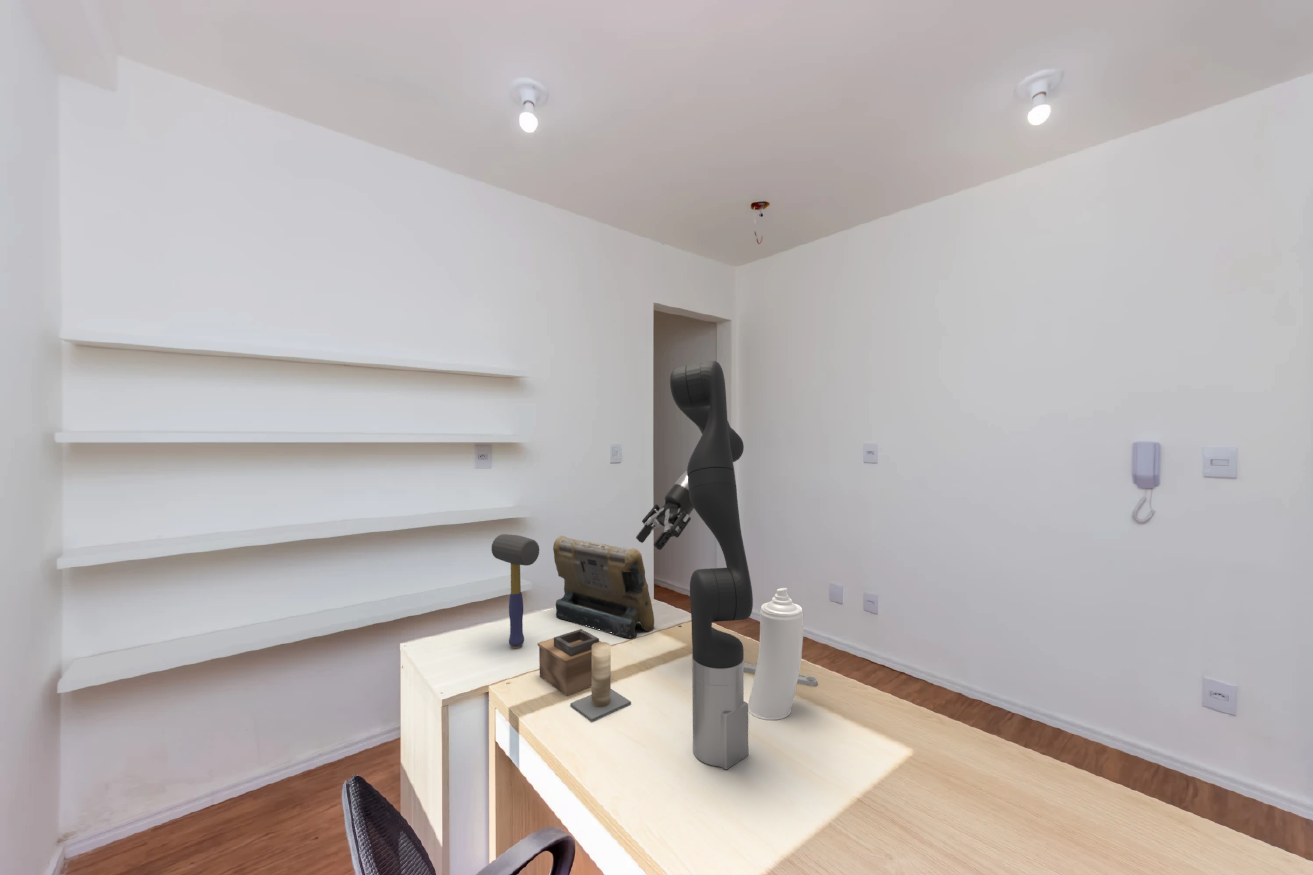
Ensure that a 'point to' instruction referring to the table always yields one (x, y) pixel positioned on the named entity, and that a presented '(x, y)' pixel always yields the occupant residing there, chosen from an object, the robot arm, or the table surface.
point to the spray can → (777, 658)
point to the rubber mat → (596, 713)
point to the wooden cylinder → (601, 674)
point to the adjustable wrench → (801, 678)
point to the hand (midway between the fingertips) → (647, 544)
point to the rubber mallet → (515, 576)
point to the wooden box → (567, 661)
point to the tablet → (603, 587)
